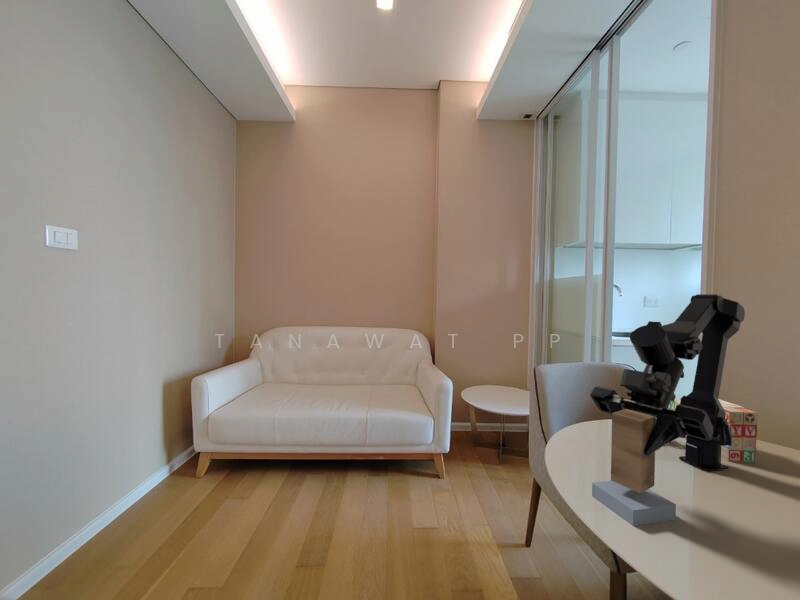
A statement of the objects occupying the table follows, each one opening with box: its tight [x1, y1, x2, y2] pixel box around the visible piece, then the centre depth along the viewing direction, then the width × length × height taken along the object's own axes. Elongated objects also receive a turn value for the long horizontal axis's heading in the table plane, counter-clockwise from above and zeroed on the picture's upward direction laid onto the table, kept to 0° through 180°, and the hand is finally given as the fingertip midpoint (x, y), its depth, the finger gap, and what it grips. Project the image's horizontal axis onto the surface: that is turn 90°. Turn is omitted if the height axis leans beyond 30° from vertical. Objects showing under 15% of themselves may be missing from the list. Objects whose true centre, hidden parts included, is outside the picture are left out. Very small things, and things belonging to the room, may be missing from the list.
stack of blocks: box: [668, 397, 758, 464], centre depth 93 cm, size 21×6×12 cm, turn 176°
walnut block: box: [610, 409, 656, 493], centre depth 64 cm, size 5×5×12 cm
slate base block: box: [591, 480, 677, 527], centre depth 64 cm, size 9×9×3 cm
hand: (629, 448), depth 63 cm, fingers closed on walnut block, 5 cm apart
